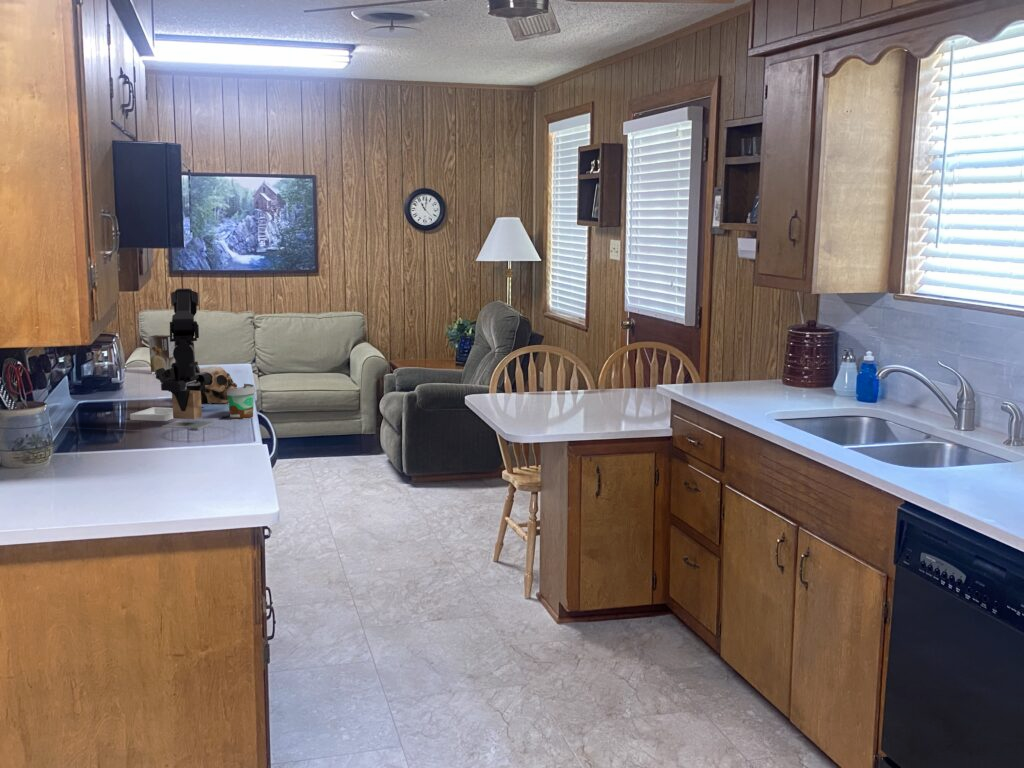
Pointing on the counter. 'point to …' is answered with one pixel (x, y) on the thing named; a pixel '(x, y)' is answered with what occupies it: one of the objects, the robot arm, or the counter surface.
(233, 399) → the food container
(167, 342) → the coffee box
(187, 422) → the slate trivet
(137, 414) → the pocket tray
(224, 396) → the brown skull
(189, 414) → the walnut block
